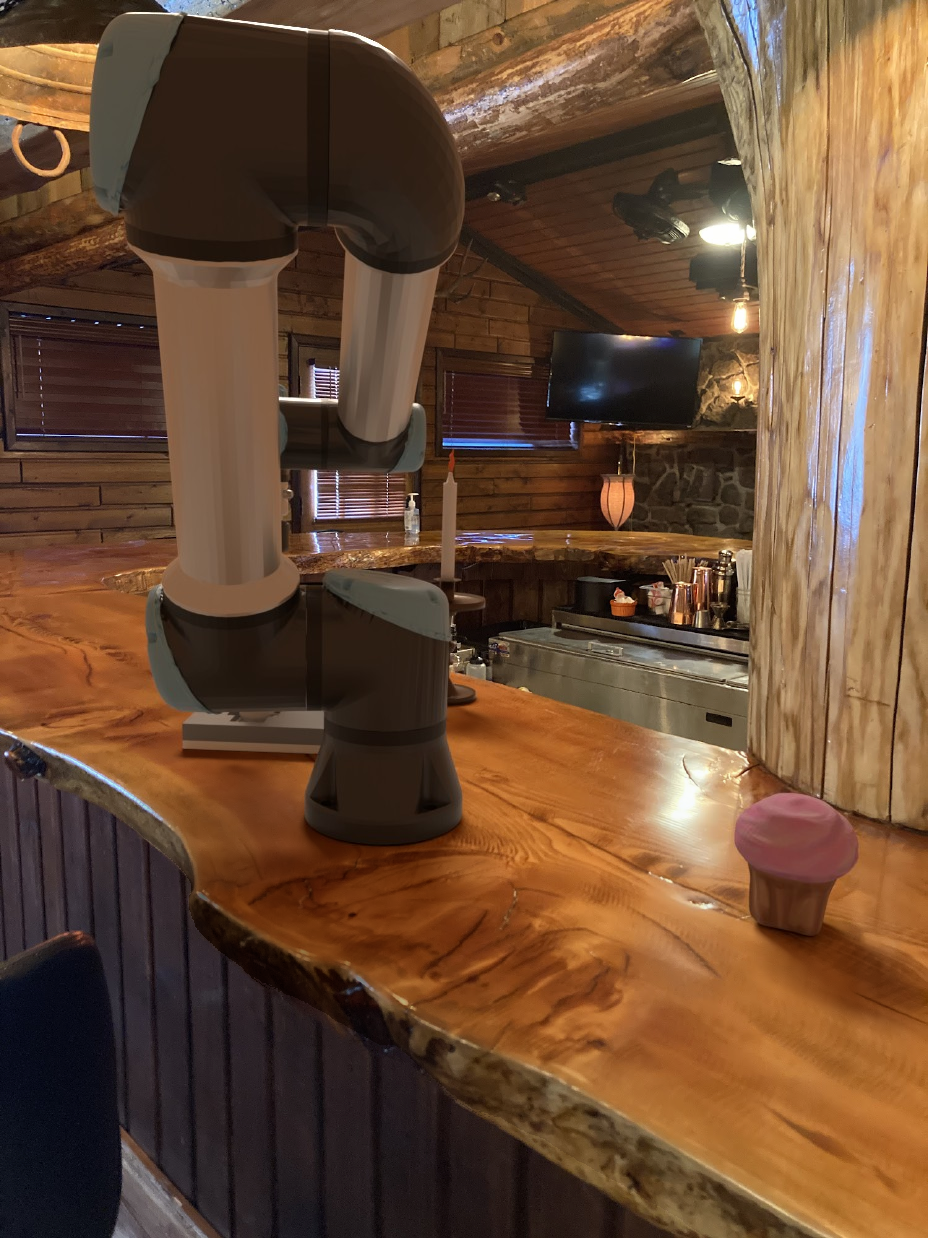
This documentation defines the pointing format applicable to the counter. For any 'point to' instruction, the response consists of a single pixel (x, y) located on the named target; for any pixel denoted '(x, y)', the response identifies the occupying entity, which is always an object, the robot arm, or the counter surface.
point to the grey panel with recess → (255, 732)
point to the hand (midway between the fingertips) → (257, 693)
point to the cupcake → (794, 859)
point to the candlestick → (447, 582)
